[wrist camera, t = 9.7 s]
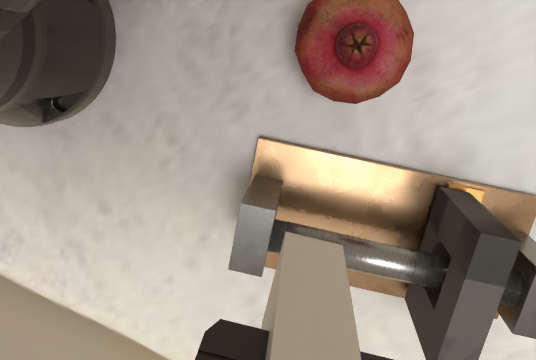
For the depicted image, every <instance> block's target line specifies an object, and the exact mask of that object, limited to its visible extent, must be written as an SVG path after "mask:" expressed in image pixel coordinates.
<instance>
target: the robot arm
mask: <svg viewBox="0 0 536 360" xmlns="http://www.w3.org/2000/svg"><path fill="white" fill-rule="evenodd" d="M114 53H115V28H114V21H113V16H112V12H111V9H110V5H109V3H108V0H0V124H4V125H9V126H17V127H34V126H42V125H46V124H50V123H54V122H57V121H61V120H64V119H67V118H69V117H71V116H73V115H75V114H77V113H78V112H80V111H81V110H83V109H84V108H85V107H87V106H88V105H89V104H90V103H91V102H92V101H93V100H94V99H95V98H96V96H97V95H98V94H99V92H100V91H101V89H102V88H103V86H104V84H105V83H106V80H107V78H108V76H109V73H110V71H111V67H112V64H113V59H114ZM195 360H393V359H389V358H385V357H381V356H377V355H372V354H368V353H364V352H360V349H359V342H358V336H357V330H356V324H355V318H354V312H353V306H352V299H351V293H350V287H349V281H348V275H347V269H346V262H345V256H344V250H343V245H340V244H336V243H331V242H327V241H323V240H319V239H315V238H311V237H307V236H303V235H298V234H294V233H290V232H285V236H284V240H283V244H282V248H281V252H280V256H279V259H278V263H277V267H276V271H275V275H274V279H273V283H272V287H271V291H270V295H269V298H268V302H267V306H266V310H265V314H264V318H263V322H262V328H261V329H259V328H255V327H251V326H247V325H242V324H238V323H234V322H230V321H226V320H222V319H220V320H219V321H218V322H216V323H215V324H214V325H213V326H212V327H210V328H209V329H208V330H207V331H205V333H204V336H203V339H202V342H201V344H200V347H199V350H198V354H197V356H196V358H195Z"/></svg>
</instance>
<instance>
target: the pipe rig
mask: <svg viewBox="0 0 536 360" xmlns="http://www.w3.org/2000/svg"><path fill="white" fill-rule="evenodd" d="M439 186H440V187H445V188H450V189H454V190H459V191H464V192H469V193H470V194H472V195H473V196H474V197H475V198H476V199H477V200H478V201H479V202H480V203H481V204H482V205H483V206H484V207H485V208H486V209H487V210H488V211H490V212H491V213H492V214H493V215H494V216H495V217H496V218H497V219H498V220H499V221H500V222H501V223H502V224H503V225H504V226H505V227H507V228H508V229H509V230H510V231H511V232H512V233H513V234H514V235H515V236H516V237H517V238H518V239H519V240H520V241H521V242H522V243H521V246H520V249H519V251H518V254H517V257H516V260H515V262H514V265H513V268H512V270H511V273H510V276H509V278H508V281H507V284H506V286H505V289H504V292H503V294H502V297H501V300H500V303H499V305H498V308H497V311H496V313H495V316H494V318H495V319H497V318H498V315H499V314H500V316H501V317H502V319H503V320H504V322H505V323H506V325H507V326H508V327H509V329H510V330H511V332H512V333H513V334H516V335H521V336H525V337H530V338H534V339H536V242H535V241H534V240H533V239H532V238H531V237H529V236H528V235H529V233H530V230H531V227H532V224H533V222H534V219H535V216H536V195H532V194H527V193H523V192H518V191H513V190H509V189H504V188H499V187H495V186H490V185H485V184H480V183H476V182H471V181H466V180H462V179H457V178H452V177H448V176H443V175H438V174H433V173H429V172H424V171H419V170H415V169H410V168H405V167H401V166H396V165H391V164H387V163H382V162H377V161H372V160H368V159H363V158H358V157H354V156H349V155H344V154H340V153H335V152H330V151H325V150H321V149H316V148H311V147H307V146H302V145H297V144H293V143H288V142H283V141H278V140H274V139H269V138H264V137H259V139H258V144H257V149H256V154H255V159H254V165H253V170H252V175H251V180H250V185H249V188H248V190H247V192H246V194H245V196H244V198H243V200H242V202H241V205H240V210H239V215H238V221H237V226H236V231H235V236H234V242H233V247H232V252H231V258H230V263H229V268H228V269H229V270H233V271H237V272H242V273H246V274H251V275H255V276H260V277H262V273H263V269H264V267H268V268H273V269H276V267H277V263H278V259H279V256H280V252H281V248H282V244H283V240H284V236H285V232H290V233H294V234H298V235H303V236H307V237H311V238H315V239H319V240H323V241H327V242H331V243H336V244H340V245H343V250H344V256H345V262H346V269H347V275H348V281H349V286H353V287H357V288H362V289H366V290H370V291H375V292H379V293H384V294H388V295H393V296H397V297H402V298H405V295H406V292H407V289H408V285H409V283H411V284H416V285H420V286H425V287H429V288H434V289H438V290H441V289H442V286H443V283H444V280H445V277H446V274H447V271H448V268H449V265H450V262H451V257H447V256H442V255H437V254H433V253H428V252H424V251H419V250H420V247H421V243H422V240H423V237H424V234H425V230H426V227H427V224H428V221H429V217H430V214H431V211H432V208H433V204H434V201H435V198H436V195H437V192H438V188H439Z"/></svg>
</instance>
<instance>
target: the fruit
mask: <svg viewBox="0 0 536 360" xmlns="http://www.w3.org/2000/svg"><path fill="white" fill-rule="evenodd" d="M413 37H414V32H413V29H412V26H411V24H410V21H409V18H408V15H407V13H406V11H405V9H404V8H403V6H402V5H401V3H400V2H399V0H313V1H312V2H310V3H309V4H308V5H307V8H306V10H305V12H304V14H303V16H302V19H301V21H300V23H299V25H298V32H297V38H296V45H295V53H296V56H297V59H298V61H299V64H300V67H301V70H302V72H303V74H304V76H305V77H306V79H307V81H308V82H309V84H310V86H311V87H312V89H313V91H315V92H317V93H319V94H321V95H323V96H325V97H327V98H329V99H331V100H333V101H338V102H345V103H353V104H357V103H360V102H363V101H366V100H369V99H372V98H376V97H379V96H381V95H382V94H383V93H385V92H386V91H388V90H389V89H390V88H392V87H393V86H395V85H396V84H397V83H399V82H400V80H401V78H402V76H403V74H404V72H405V70H406V68H407V66H408V64H409V62H410V60H411V53H412V45H413Z"/></svg>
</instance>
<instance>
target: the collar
mask: <svg viewBox="0 0 536 360" xmlns="http://www.w3.org/2000/svg"><path fill="white" fill-rule="evenodd" d="M521 243H522V242H521V241H520V240H519V239H518V238H517V237H516V236H515V235H514V234H513V233H512V232H511V231H510V230H509V229H508V228H507V227H505V226H504V225H503V224H502V223H501V222H500V221H499V220H498V219H497V218H496V217H495V216H494V215H493V214H492V213H491V212H490V211H488V210H487V209H486V208H485V207H484V206H483V205H482V204H481V203H480V202H479V201H478V200H477V199H476V198H475V197H474V196H473V195H472V194H470V193H469V192H464V191H459V190H454V189H450V188H445V187H440V186H439V188H438V192H437V195H436V198H435V201H434V204H433V208H432V211H431V214H430V217H429V221H428V224H427V227H426V230H425V234H424V237H423V240H422V243H421V247H420V250H419V251H424V252H428V253H433V254H437V255H442V256H447V257H451V262H450V265H449V268H448V271H447V274H446V277H445V280H444V283H443V286H442V289H441V290H438V289H434V288H429V287H425V286H420V285H416V284H411V283H409V285H408V289H407V292H406V295H405V301H406V304H407V306H408V309H409V312H410V315H411V318H412V321H413V324H414V326H415V329H416V332H417V335H418V338H419V341H420V344H421V346H422V349H423V352H424V355H425V358H426V360H478V359H479V356H480V354H481V351H482V348H483V345H484V343H485V340H486V337H487V335H488V332H489V329H490V327H491V324H492V321H493V319H494V316H495V313H496V311H497V308H498V305H499V303H500V300H501V297H502V294H503V292H504V289H505V286H506V284H507V281H508V278H509V276H510V273H511V270H512V268H513V265H514V262H515V260H516V257H517V254H518V251H519V249H520V246H521Z"/></svg>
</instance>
